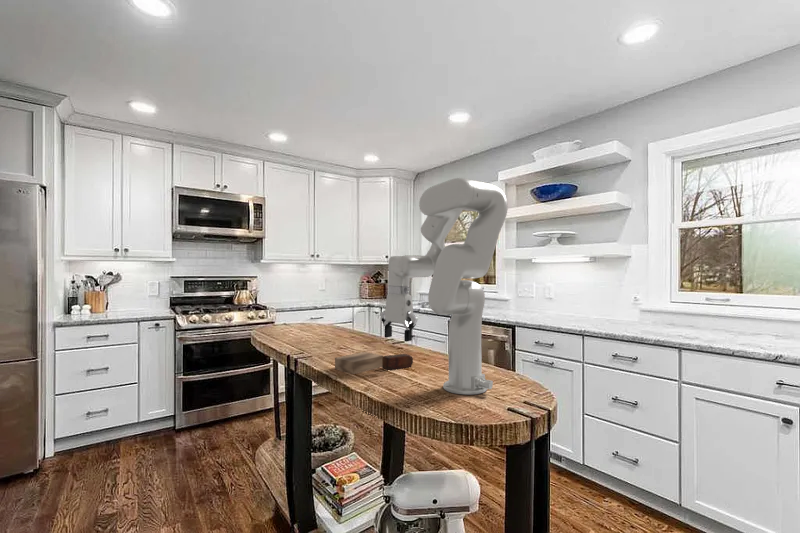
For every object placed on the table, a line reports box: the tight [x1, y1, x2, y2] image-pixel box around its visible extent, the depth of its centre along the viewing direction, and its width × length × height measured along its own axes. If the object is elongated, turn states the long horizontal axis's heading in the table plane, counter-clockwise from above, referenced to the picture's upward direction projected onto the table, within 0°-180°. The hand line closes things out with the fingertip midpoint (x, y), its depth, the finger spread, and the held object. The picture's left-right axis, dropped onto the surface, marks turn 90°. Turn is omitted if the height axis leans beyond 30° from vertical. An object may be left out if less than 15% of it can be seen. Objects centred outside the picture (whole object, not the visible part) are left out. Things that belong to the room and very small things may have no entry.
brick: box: [381, 353, 414, 372], centre depth 144 cm, size 11×4×5 cm, turn 123°
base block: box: [334, 351, 384, 375], centre depth 144 cm, size 10×14×4 cm
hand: (397, 338), depth 144 cm, fingers open, 9 cm apart
